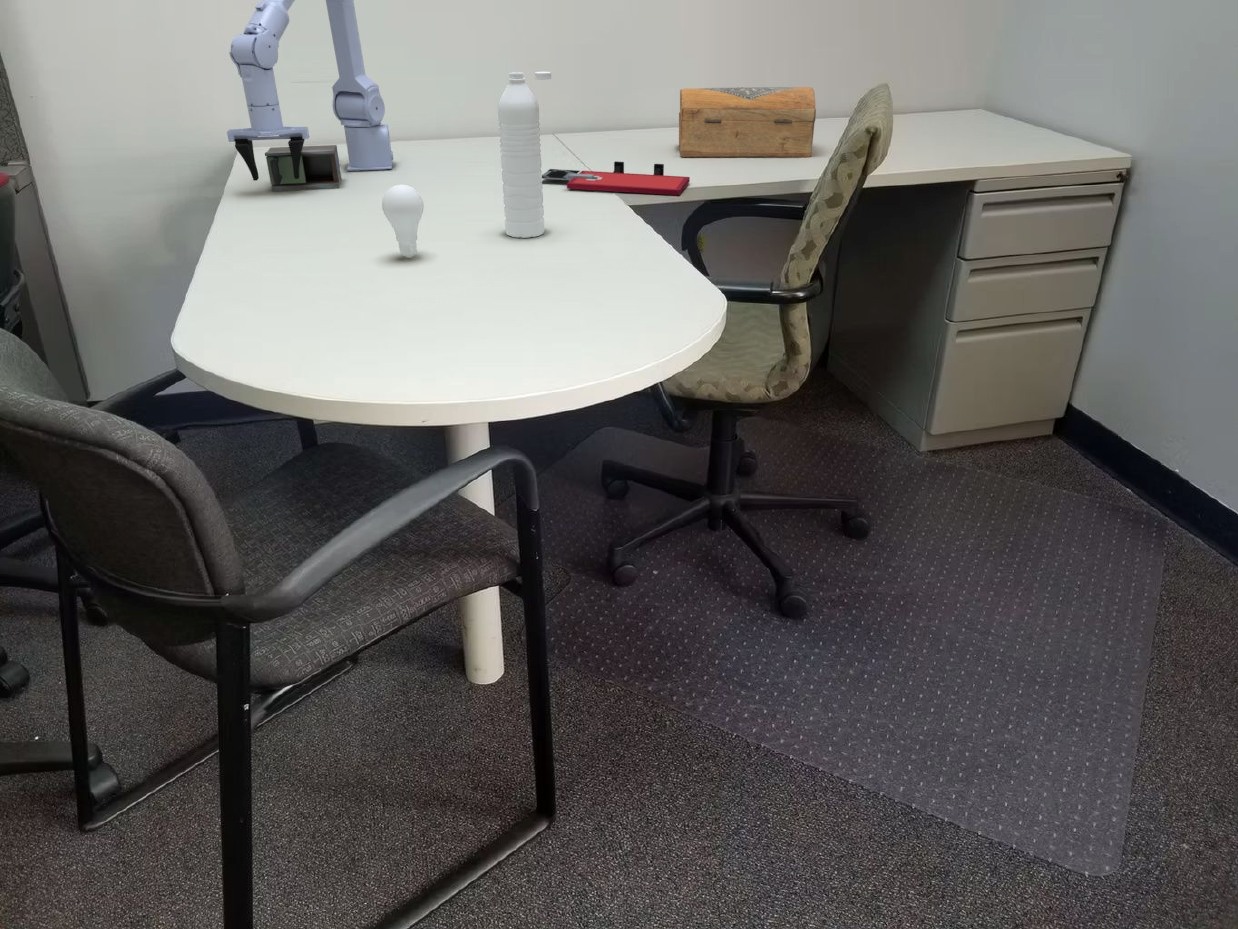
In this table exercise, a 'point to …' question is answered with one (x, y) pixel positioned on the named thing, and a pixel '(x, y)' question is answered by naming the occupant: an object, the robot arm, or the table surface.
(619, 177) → the red board with handle
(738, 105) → the wooden box
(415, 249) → the lightbulb
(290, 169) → the closet door
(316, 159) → the cabinet
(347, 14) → the robot arm
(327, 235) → the table surface
